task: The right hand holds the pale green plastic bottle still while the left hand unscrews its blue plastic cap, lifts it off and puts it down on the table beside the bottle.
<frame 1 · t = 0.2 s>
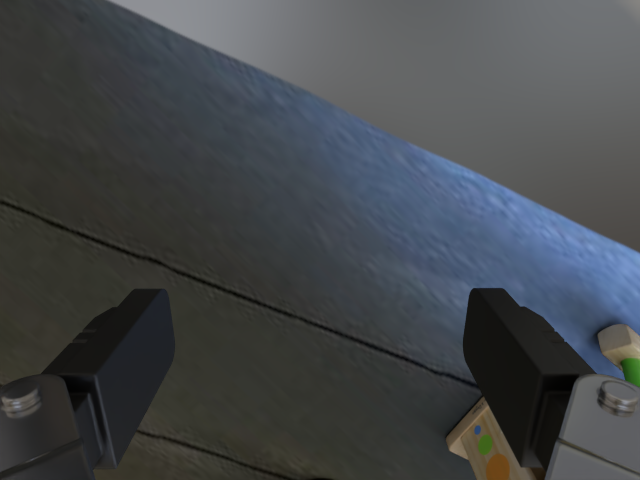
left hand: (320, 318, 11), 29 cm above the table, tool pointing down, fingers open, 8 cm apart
pounding bench toy: (552, 396, 48), on the table
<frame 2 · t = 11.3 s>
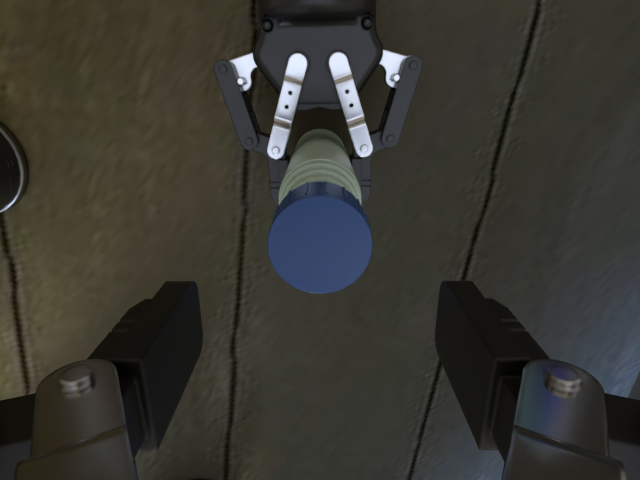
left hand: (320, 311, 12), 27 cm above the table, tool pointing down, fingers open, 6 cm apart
right hand: (321, 205, 32), fingers closed on bottle, 4 cm apart
bottle: (320, 154, 37), on the table, touching right hand
cap: (319, 244, 17), point 22 cm above the table, screwed on, not yet turned
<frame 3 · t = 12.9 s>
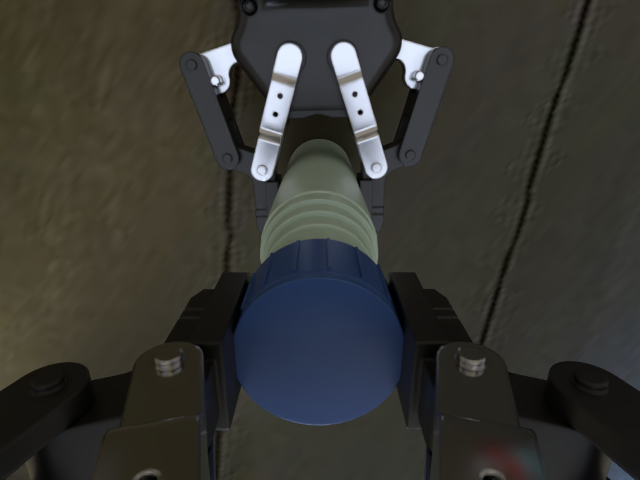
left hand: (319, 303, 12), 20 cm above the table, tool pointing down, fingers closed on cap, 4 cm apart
right hand: (320, 237, 25), fingers closed on bottle, 4 cm apart
bottle: (319, 170, 31), on the table, touching right hand
cap: (318, 349, 10), point 22 cm above the table, screwed on, not yet turned, touching left hand
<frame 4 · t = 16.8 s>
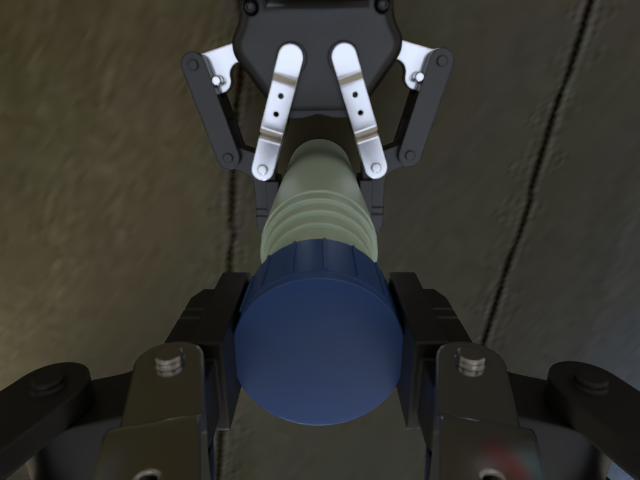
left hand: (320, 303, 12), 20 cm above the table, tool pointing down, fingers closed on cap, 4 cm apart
right hand: (320, 237, 25), fingers closed on bottle, 4 cm apart
bottle: (319, 170, 31), on the table, touching right hand
cap: (318, 349, 10), point 22 cm above the table, turned 93° so far, risen 0.1 cm, still on its thread, touching left hand
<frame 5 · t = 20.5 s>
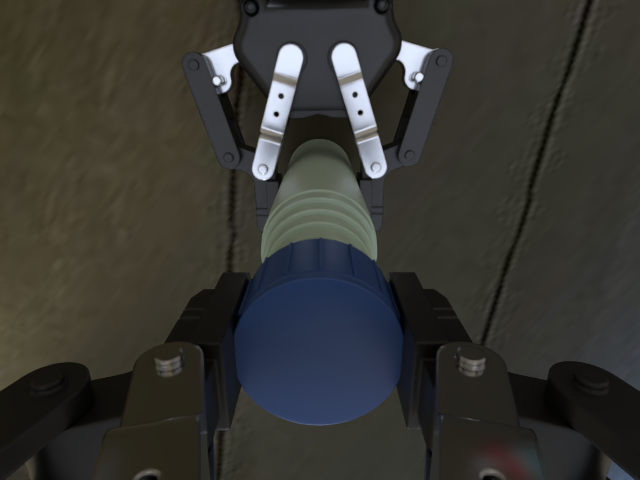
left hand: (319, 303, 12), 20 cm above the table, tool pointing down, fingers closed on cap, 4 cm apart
right hand: (320, 236, 25), fingers closed on bottle, 4 cm apart
bottle: (319, 170, 31), on the table, touching right hand
cap: (318, 349, 10), point 22 cm above the table, turned 186° so far, risen 0.2 cm, still on its thread, touching left hand
when the left hand's fingers open (1 cm above the table, at t = 35.0 s): cap drops 1 cm, point 2 cm above the table.
when the right hand's fingers open (7 cm above the table, at t = 36.2 s): bottle stays where it is, on the table.
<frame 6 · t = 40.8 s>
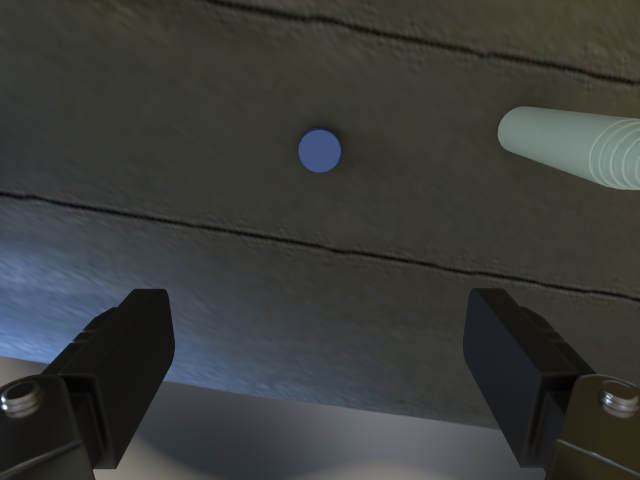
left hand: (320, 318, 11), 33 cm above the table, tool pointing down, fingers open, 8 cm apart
bottle: (520, 129, 42), on the table
cap: (319, 151, 40), point 2 cm above the table, off its thread
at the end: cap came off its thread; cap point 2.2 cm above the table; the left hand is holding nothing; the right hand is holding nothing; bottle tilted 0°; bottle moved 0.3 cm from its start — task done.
